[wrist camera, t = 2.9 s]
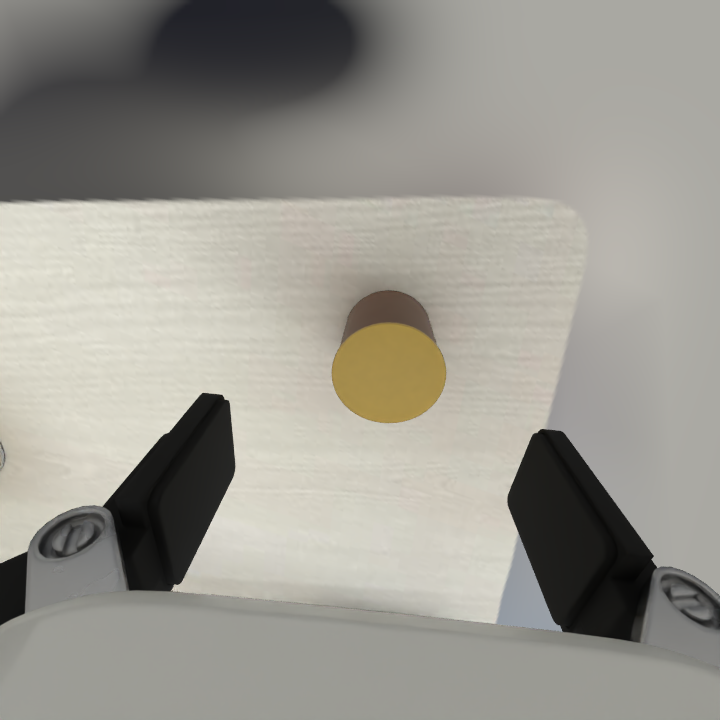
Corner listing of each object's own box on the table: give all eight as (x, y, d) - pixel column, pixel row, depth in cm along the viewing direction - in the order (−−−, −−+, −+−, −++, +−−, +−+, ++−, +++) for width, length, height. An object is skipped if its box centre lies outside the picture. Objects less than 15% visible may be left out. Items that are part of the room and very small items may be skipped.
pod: (440, 293, 18) (457, 331, 14) (423, 374, 20) (434, 429, 16) (347, 283, 18) (335, 317, 14) (341, 365, 20) (328, 416, 16)
